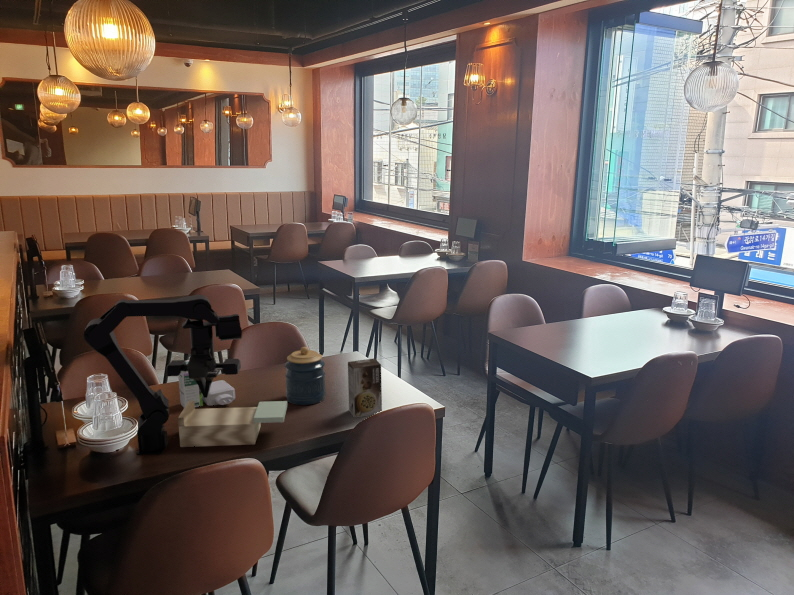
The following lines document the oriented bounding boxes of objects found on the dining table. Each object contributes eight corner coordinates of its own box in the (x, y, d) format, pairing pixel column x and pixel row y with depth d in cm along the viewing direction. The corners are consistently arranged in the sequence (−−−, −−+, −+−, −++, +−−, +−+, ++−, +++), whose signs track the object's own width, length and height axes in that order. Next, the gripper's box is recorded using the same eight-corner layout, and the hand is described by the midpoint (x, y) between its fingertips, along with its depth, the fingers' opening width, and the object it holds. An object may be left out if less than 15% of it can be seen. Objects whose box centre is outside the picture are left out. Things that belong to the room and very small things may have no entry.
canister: (321, 389, 209) (320, 339, 206) (329, 403, 197) (328, 350, 194) (283, 393, 205) (281, 343, 202) (289, 408, 193) (287, 354, 190)
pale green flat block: (253, 417, 167) (283, 417, 168) (259, 401, 178) (287, 401, 179) (253, 422, 167) (283, 422, 168) (259, 406, 178) (287, 405, 179)
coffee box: (375, 406, 195) (375, 357, 191) (382, 413, 189) (382, 363, 186) (348, 410, 192) (347, 361, 188) (354, 418, 186) (353, 367, 182)
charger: (214, 413, 190) (198, 398, 201) (242, 406, 195) (225, 392, 207) (213, 398, 189) (197, 385, 200) (242, 392, 194) (224, 379, 206)
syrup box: (185, 410, 191) (181, 366, 188) (180, 404, 196) (176, 360, 193) (203, 406, 195) (200, 362, 191) (198, 400, 199) (195, 357, 196)
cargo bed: (180, 447, 167) (178, 417, 165) (190, 428, 178) (188, 401, 176) (254, 444, 168) (253, 415, 166) (260, 426, 180) (259, 398, 178)
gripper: (157, 352, 155) (162, 409, 159) (232, 350, 157) (235, 407, 160) (169, 339, 166) (173, 394, 169) (239, 338, 168) (242, 392, 171)
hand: (206, 397), depth 167 cm, fingers closed
